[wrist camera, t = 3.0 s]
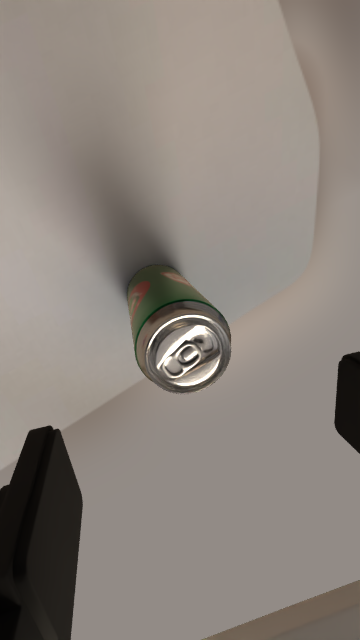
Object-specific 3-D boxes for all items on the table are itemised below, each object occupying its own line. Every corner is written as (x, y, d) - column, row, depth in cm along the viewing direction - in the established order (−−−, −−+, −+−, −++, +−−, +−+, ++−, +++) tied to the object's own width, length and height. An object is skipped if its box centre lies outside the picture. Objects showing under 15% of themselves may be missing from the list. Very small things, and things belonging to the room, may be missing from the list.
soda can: (197, 297, 26) (256, 359, 15) (151, 332, 27) (178, 418, 16) (162, 250, 25) (202, 283, 13) (113, 289, 25) (113, 351, 14)
